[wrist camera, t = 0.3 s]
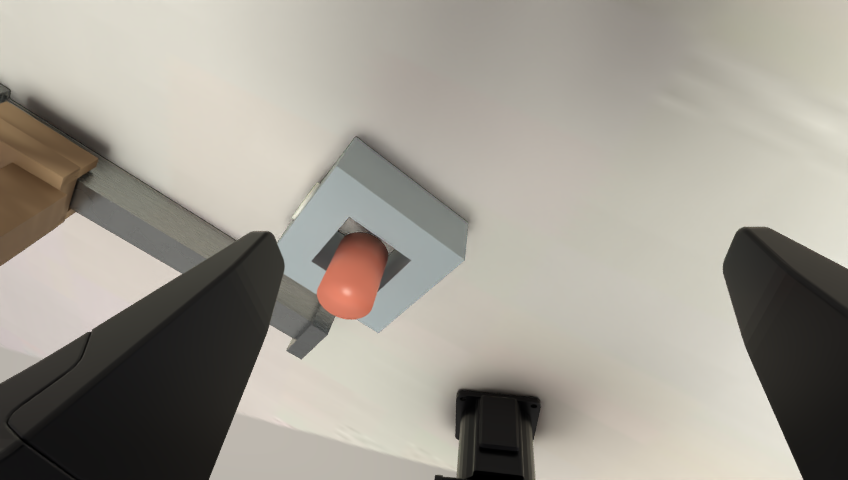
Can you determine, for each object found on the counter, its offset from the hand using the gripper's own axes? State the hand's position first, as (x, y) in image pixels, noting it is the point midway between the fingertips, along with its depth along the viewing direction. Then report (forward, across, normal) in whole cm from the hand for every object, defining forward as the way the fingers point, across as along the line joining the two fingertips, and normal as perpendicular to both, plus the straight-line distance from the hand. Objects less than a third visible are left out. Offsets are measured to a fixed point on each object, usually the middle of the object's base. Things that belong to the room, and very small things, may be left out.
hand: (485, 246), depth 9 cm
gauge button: (+11, +7, +10) cm, 16 cm away
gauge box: (+14, +7, +10) cm, 18 cm away
